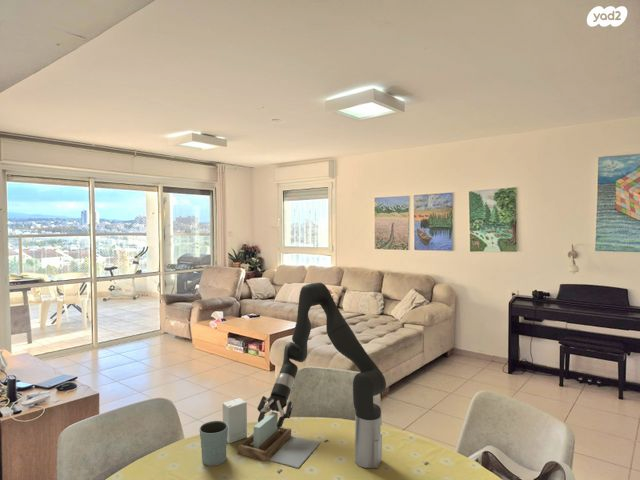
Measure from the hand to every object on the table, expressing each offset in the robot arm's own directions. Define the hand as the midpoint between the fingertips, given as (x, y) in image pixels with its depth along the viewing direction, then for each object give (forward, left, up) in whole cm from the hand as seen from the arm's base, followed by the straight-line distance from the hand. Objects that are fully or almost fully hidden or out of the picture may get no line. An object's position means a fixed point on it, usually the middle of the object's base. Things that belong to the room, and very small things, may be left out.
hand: (268, 425), depth 163 cm
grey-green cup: (+12, +19, -7) cm, 24 cm away
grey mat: (-13, +2, -7) cm, 15 cm away
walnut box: (0, +2, -7) cm, 7 cm away
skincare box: (+14, +3, -7) cm, 16 cm away
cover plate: (0, +2, -7) cm, 7 cm away
